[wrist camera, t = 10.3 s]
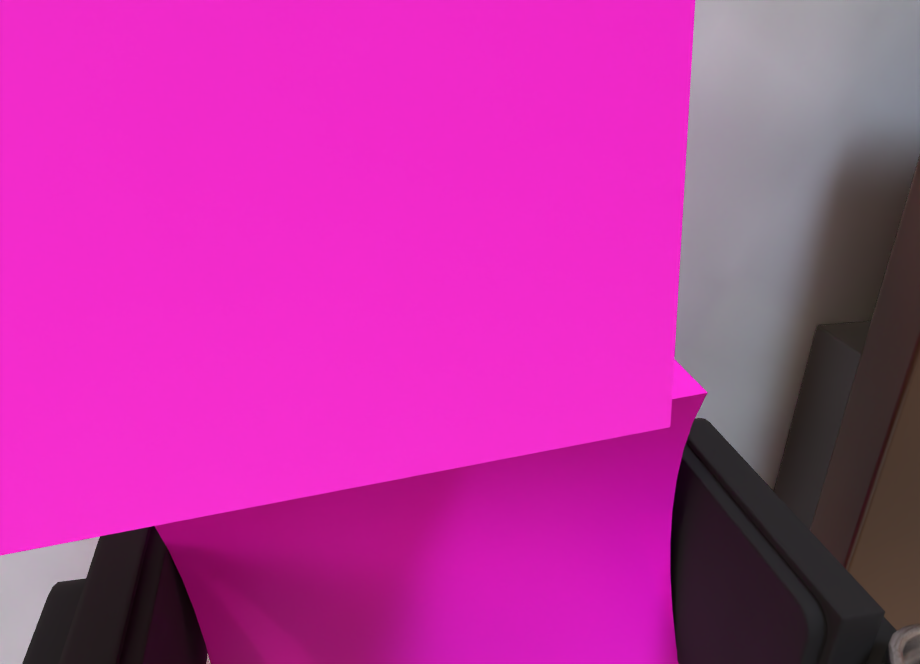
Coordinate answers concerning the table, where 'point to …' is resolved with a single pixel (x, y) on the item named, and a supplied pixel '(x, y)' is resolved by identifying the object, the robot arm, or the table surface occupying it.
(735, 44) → the table surface
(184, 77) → the toy block
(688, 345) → the table surface
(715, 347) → the table surface
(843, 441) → the brown rectangular block
